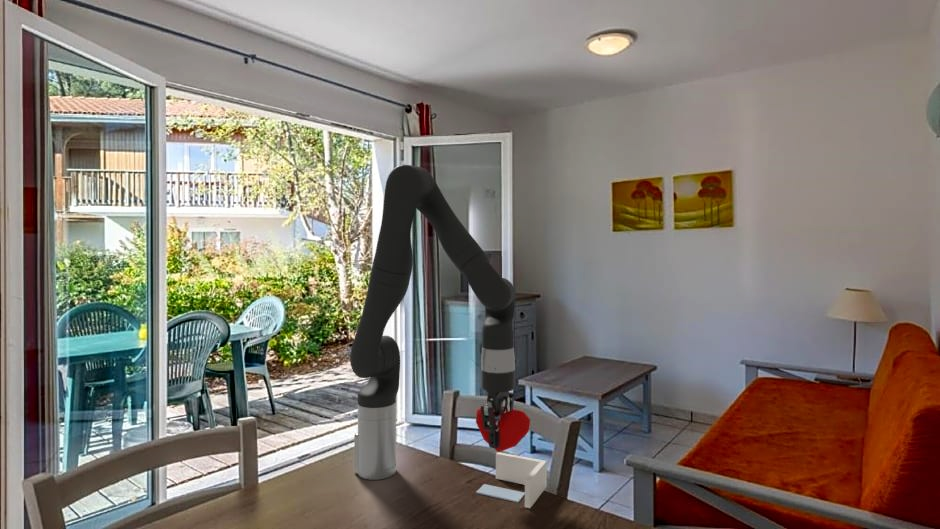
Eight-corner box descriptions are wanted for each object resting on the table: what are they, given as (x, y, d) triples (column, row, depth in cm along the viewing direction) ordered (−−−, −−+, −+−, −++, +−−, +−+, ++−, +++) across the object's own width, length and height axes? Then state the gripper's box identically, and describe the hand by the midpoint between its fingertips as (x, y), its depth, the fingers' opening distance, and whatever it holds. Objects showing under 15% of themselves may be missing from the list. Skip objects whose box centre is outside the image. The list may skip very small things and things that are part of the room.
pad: (476, 493, 117) (476, 491, 117) (484, 485, 121) (484, 483, 121) (518, 502, 113) (518, 501, 113) (525, 494, 117) (525, 492, 117)
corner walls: (477, 496, 116) (477, 469, 115) (497, 476, 126) (497, 452, 126) (530, 508, 110) (530, 480, 110) (546, 486, 120) (546, 461, 120)
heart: (526, 453, 117) (531, 410, 117) (524, 461, 113) (530, 416, 113) (474, 443, 120) (479, 400, 119) (470, 450, 116) (476, 406, 115)
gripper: (501, 376, 108) (501, 458, 109) (525, 363, 121) (525, 436, 121) (468, 372, 112) (469, 452, 112) (495, 360, 124) (496, 431, 125)
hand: (498, 443), depth 117 cm, fingers closed on heart, 4 cm apart
